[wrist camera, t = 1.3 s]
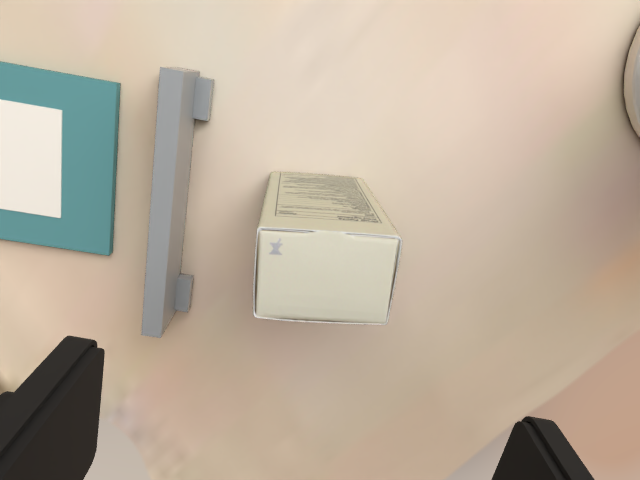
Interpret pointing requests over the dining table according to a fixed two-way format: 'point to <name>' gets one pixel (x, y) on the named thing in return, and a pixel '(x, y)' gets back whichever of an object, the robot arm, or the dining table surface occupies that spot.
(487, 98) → the dining table surface
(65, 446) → the robot arm
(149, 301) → the grey drawer handle
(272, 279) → the skincare box
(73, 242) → the pad
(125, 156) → the dining table surface
